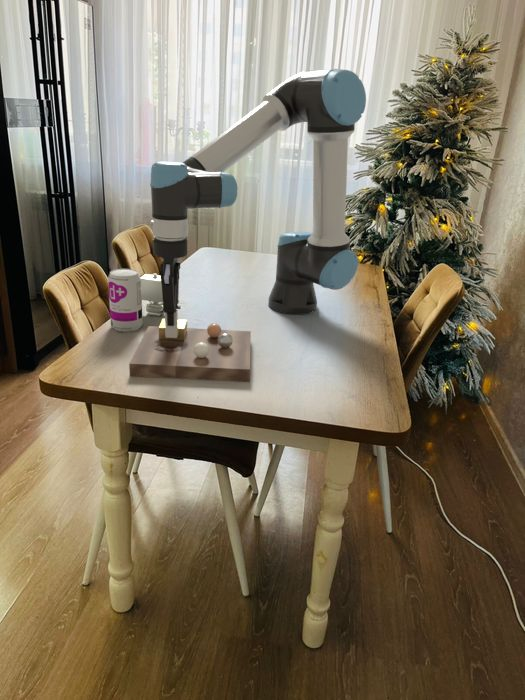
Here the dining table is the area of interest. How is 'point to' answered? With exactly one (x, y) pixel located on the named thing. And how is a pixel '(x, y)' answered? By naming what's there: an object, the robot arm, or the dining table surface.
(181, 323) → the block
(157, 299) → the pneumatic valve
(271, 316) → the dining table surface
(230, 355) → the board
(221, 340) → the steel ball
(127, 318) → the supplement can
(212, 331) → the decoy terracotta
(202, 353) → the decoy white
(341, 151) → the robot arm
